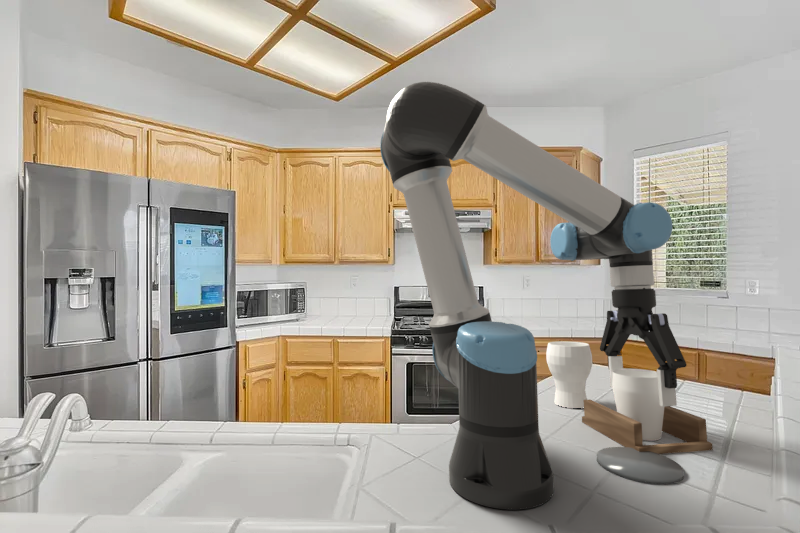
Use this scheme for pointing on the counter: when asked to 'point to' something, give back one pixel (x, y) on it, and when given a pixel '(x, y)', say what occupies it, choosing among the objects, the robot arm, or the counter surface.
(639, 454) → the trivet
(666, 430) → the cradle
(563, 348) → the cup
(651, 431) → the cup
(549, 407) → the counter surface
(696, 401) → the counter surface
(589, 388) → the counter surface
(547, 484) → the robot arm
